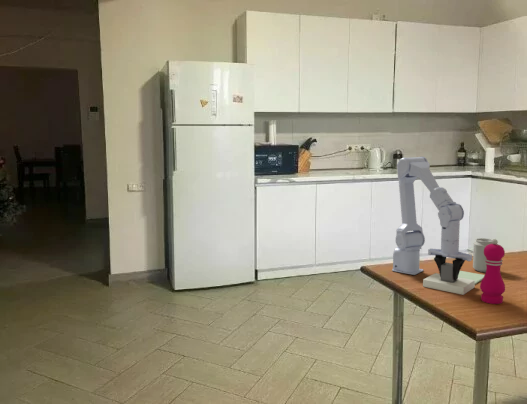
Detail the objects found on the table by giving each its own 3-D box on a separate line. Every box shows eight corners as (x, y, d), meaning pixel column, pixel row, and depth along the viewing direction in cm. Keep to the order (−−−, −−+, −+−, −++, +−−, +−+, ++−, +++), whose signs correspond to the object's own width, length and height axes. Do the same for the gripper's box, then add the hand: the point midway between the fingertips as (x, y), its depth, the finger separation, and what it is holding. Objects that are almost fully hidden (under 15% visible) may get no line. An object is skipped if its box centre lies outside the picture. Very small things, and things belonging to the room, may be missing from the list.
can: (495, 268, 191) (496, 238, 189) (492, 273, 185) (493, 242, 183) (474, 266, 195) (475, 236, 193) (471, 271, 189) (472, 240, 187)
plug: (440, 287, 171) (441, 264, 170) (445, 284, 174) (445, 262, 172) (451, 289, 168) (452, 266, 167) (456, 286, 171) (457, 264, 170)
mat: (441, 278, 181) (441, 276, 181) (454, 270, 189) (454, 269, 189) (474, 284, 172) (474, 283, 172) (486, 276, 181) (486, 275, 181)
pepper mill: (503, 306, 151) (506, 242, 149) (477, 302, 155) (480, 240, 152) (505, 299, 157) (508, 238, 155) (481, 295, 161) (483, 235, 158)
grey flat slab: (422, 286, 172) (423, 279, 172) (435, 279, 179) (435, 273, 179) (463, 294, 162) (463, 287, 162) (474, 287, 170) (474, 280, 169)
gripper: (424, 238, 170) (423, 276, 172) (467, 244, 161) (465, 284, 162) (433, 235, 175) (432, 272, 177) (475, 240, 166) (473, 279, 168)
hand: (448, 277), depth 170 cm, fingers closed on plug, 4 cm apart
